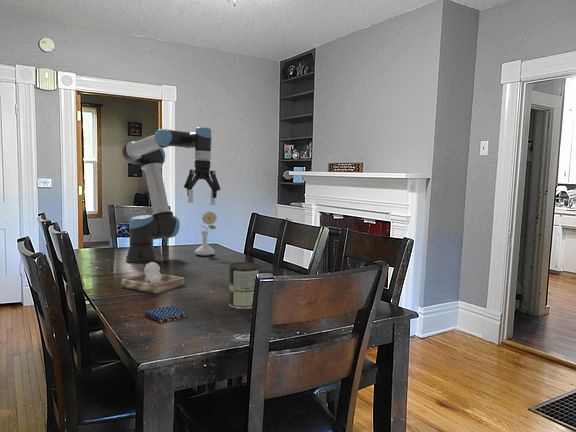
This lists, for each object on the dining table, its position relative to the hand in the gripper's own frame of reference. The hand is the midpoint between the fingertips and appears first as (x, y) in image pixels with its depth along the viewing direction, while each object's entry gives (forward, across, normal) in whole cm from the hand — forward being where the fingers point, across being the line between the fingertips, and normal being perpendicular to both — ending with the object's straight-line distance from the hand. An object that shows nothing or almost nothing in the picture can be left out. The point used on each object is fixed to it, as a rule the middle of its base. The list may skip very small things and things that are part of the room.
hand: (201, 203), depth 212 cm
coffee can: (+30, +54, -44) cm, 76 cm away
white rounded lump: (+30, +11, -42) cm, 53 cm away
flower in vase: (+32, -17, +27) cm, 45 cm away
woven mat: (+31, +40, -67) cm, 84 cm away
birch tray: (+31, +9, -41) cm, 52 cm away
